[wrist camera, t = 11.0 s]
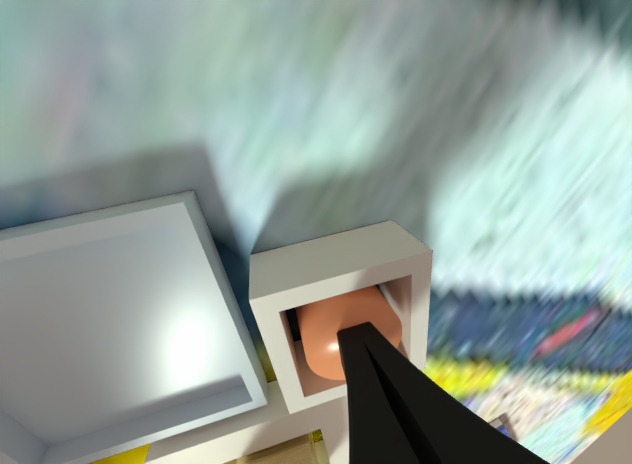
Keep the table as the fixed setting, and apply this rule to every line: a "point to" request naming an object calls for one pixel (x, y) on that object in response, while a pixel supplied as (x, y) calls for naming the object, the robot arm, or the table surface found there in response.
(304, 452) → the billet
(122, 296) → the tray
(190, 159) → the table surface
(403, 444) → the robot arm
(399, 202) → the table surface
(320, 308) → the button
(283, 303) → the button housing
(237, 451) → the frame
